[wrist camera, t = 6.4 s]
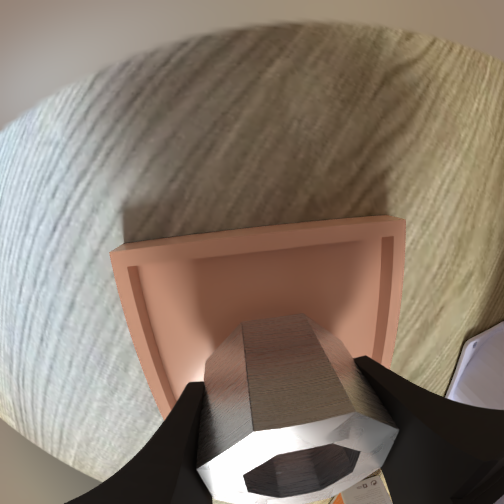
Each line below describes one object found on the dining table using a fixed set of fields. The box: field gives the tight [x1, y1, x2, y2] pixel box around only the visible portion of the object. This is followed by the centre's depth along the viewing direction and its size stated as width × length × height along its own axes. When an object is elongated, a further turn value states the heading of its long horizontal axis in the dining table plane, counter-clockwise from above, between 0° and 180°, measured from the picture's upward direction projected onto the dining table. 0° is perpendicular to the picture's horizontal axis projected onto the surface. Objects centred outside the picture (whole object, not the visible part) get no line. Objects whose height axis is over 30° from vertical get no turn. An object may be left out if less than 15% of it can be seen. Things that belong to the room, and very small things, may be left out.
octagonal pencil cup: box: [197, 313, 399, 504], centre depth 8 cm, size 5×5×5 cm
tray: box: [109, 215, 406, 420], centre depth 11 cm, size 11×11×2 cm
